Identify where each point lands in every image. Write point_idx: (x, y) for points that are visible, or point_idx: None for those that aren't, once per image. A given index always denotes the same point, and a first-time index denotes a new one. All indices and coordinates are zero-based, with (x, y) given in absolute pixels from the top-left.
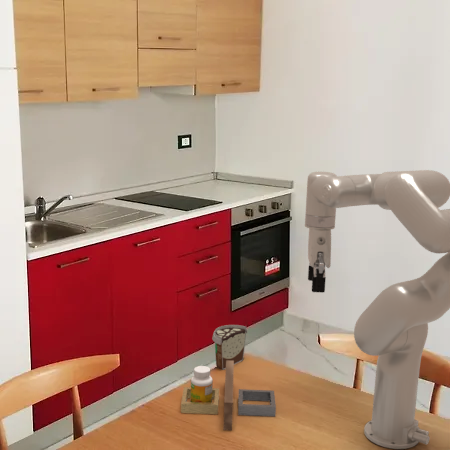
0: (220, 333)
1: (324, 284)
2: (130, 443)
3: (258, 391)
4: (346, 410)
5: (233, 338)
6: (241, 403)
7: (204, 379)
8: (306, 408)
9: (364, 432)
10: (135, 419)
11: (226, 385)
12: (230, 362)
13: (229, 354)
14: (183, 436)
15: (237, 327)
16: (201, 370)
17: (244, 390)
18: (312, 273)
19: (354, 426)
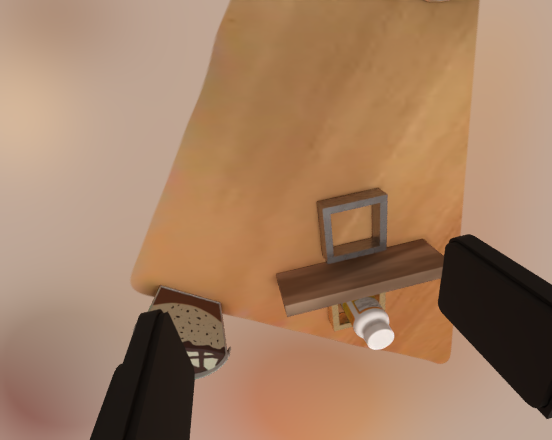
0: None
1: (523, 273)
2: (449, 326)
3: (331, 233)
4: (338, 46)
5: (186, 338)
6: (378, 248)
7: (385, 322)
8: (341, 137)
9: (442, 1)
10: (396, 342)
11: (392, 288)
12: (295, 308)
13: (200, 315)
14: (436, 286)
15: None
16: (386, 339)
17: (331, 255)
18: (179, 413)
19: (407, 26)
